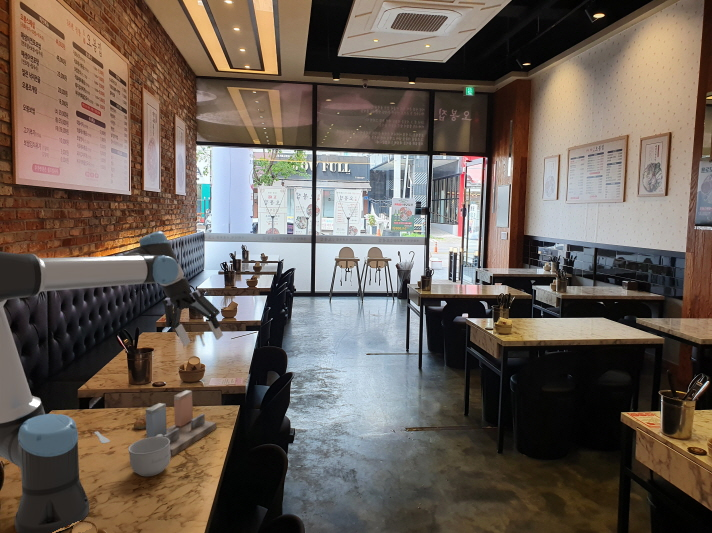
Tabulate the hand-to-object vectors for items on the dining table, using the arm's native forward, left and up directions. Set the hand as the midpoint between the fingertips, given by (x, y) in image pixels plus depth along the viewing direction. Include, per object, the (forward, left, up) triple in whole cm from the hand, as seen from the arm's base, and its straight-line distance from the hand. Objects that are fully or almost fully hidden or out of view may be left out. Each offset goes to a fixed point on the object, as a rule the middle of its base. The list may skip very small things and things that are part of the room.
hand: (203, 340), depth 167 cm
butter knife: (-9, +37, -32) cm, 50 cm away
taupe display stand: (-3, +7, -32) cm, 33 cm away
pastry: (+3, +25, -32) cm, 41 cm away
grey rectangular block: (-10, +11, -29) cm, 33 cm away
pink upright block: (+3, +11, -29) cm, 31 cm away
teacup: (-22, +1, -32) cm, 39 cm away
